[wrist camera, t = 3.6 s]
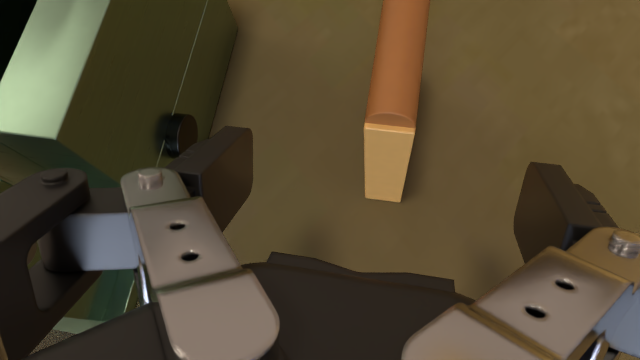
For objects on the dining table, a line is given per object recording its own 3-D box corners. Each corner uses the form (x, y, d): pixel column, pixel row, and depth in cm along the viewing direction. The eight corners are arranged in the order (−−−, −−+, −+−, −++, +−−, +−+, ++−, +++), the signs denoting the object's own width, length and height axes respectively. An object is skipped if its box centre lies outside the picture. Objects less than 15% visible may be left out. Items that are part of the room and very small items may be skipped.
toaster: (195, 230, 27) (74, 141, 16) (28, 205, 29) (-189, 108, 17) (248, 29, 32) (183, -150, 21) (102, 17, 33) (-32, -156, 22)
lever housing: (125, 342, 25) (-36, 332, 15) (9, 320, 26) (-214, 297, 16) (157, 233, 27) (33, 161, 17) (47, 217, 28) (-130, 139, 18)
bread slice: (400, 203, 27) (417, 122, 17) (364, 198, 27) (363, 116, 18) (413, 87, 29) (435, -37, 20) (381, 84, 29) (387, -40, 20)
